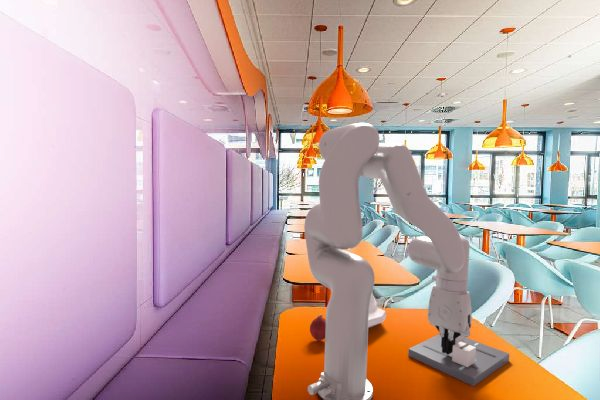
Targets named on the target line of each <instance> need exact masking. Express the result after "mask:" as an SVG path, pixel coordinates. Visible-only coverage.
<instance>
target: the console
mask: <svg viewBox="0 0 600 400" xmlns="http://www.w3.org/2000/svg"><path fill="white" fill-rule="evenodd" d="M441 341H442V337H441V336H440V333H439V334H436V335H434V336H432V337H431V338H428V339H426V340H424V341H422V342H420V343H418V344H416V345H413V346H411V347H409V348H408V357H410V358H412V359H415V360H416V361H419V362H421V363H422V364H423V363H424V364H425V365H428V366H429V367H431V368H434V369H435V370H438V371H441V372H442V373H444V374H447V375H449V376H450V377H453V378H455V379H457V380H458V381H462V382H463V383H466V384H467V385H470V386H472V387H475V386H476V385H478V384H480V382H482V381H484V380H485V379H487V378H488V377H489V376H490V375H492V374H493V373H494V372H495V371H497V370H498V369H500V368H502V367H503V366H504V365H505V364H507V363H509V362H510V353H509V352H506V351H504V350H500V349H497V348H495V347H492V346H490V345H486V344H485V343H482V342H479V341H476V340H473V339H471V338H468V337H464V341H463V342H464V343H466V344H469V345H471V346H474V347H476V356H475V363H474V364H472V365H470V366H469V367H465V366H463V365H461V364H458V363H456V362H454V361H452V353H453V352H452V353H450V354H446V353H443V352H442V347H441Z"/></svg>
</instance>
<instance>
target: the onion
mask: <svg viewBox="0 0 600 400" xmlns="http://www.w3.org/2000/svg"><path fill="white" fill-rule="evenodd" d="M325 331H326V318H324V317H323V314H321V313H320V314H318V316H317V317H316V318H314V319H313V320H312V321H311V323H310V327H309V332H310V335H311V337H312V338H313V339H315V340H316V341H317V342H322V341H323V340H324V339H325Z"/></svg>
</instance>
